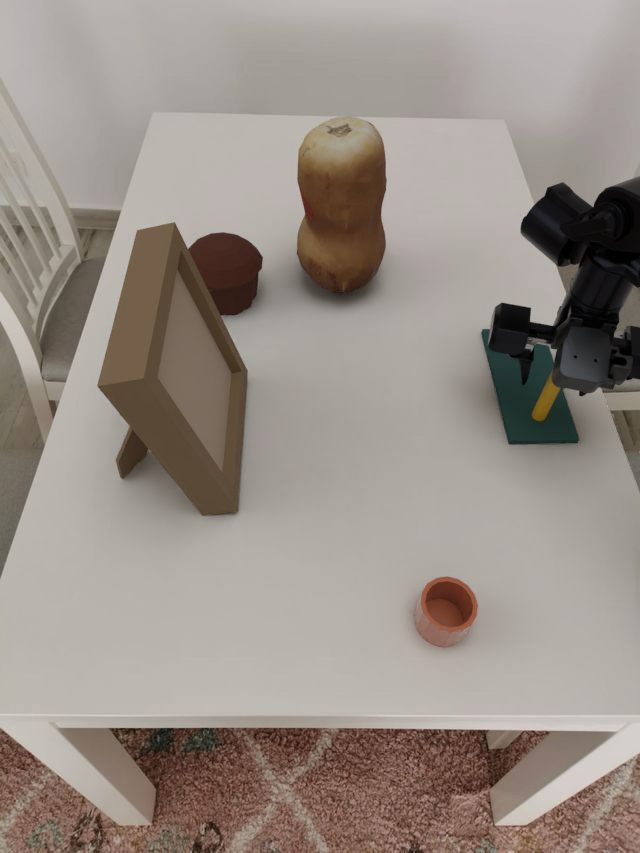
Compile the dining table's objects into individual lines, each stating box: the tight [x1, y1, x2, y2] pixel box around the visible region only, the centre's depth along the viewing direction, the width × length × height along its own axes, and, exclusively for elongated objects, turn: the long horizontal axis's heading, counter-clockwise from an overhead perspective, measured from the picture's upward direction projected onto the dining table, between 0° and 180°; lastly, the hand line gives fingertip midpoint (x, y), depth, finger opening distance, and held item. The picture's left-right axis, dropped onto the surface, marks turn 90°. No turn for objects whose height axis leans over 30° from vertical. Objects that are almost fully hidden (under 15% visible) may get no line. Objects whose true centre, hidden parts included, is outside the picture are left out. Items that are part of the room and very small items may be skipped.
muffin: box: [187, 231, 264, 317], centre depth 91 cm, size 12×11×10 cm
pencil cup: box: [413, 576, 479, 648], centre depth 64 cm, size 6×6×6 cm
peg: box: [532, 367, 560, 421], centre depth 77 cm, size 2×2×11 cm
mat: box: [481, 328, 580, 445], centre depth 85 cm, size 20×9×1 cm, turn 1°
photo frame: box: [96, 221, 249, 517], centre depth 69 cm, size 15×22×25 cm
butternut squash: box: [296, 116, 388, 295], centre depth 88 cm, size 14×13×25 cm
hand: (551, 388), depth 77 cm, fingers open, 7 cm apart
